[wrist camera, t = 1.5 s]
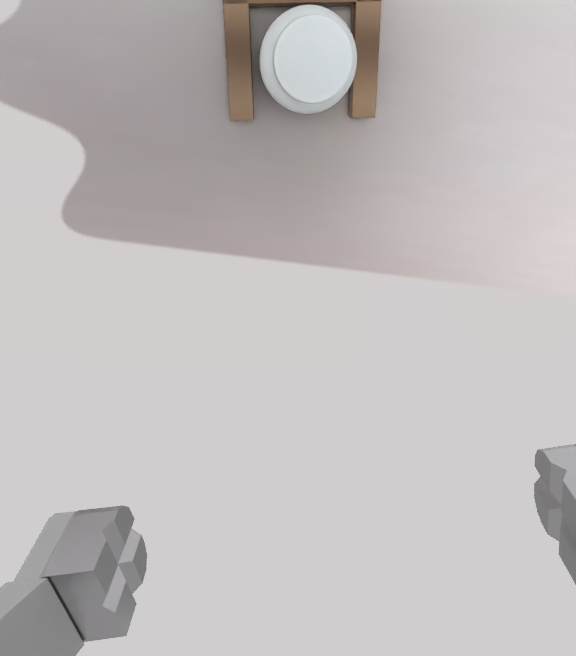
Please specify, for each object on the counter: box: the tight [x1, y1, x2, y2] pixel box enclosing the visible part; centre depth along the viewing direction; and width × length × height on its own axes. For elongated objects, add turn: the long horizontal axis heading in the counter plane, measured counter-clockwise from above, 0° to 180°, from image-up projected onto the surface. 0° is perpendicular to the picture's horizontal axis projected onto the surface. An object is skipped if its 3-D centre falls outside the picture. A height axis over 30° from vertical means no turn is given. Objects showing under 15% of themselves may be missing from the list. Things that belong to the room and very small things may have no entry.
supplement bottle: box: [259, 5, 357, 114], centre depth 30 cm, size 5×5×10 cm
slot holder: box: [223, 0, 381, 121], centre depth 33 cm, size 8×10×2 cm
